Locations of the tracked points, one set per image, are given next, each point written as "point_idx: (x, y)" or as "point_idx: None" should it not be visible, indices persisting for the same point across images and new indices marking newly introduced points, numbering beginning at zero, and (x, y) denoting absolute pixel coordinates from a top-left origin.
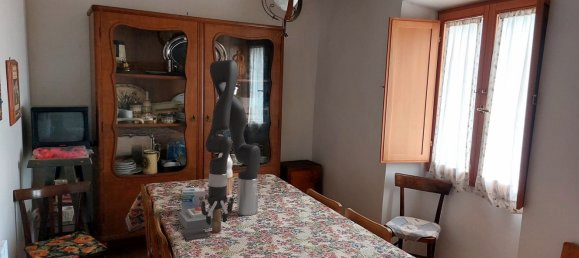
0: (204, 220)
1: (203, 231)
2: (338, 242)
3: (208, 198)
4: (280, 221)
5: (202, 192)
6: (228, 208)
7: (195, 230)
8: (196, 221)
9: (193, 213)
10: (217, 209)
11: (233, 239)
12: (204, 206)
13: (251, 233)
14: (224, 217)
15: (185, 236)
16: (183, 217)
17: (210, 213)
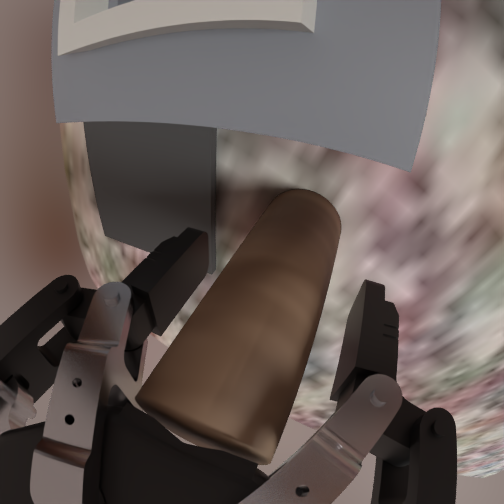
0: (190, 120)
1: (195, 190)
2: (489, 458)
3: (4, 471)
4: None
5: None
6: (407, 454)
7: (149, 141)
8: (115, 119)
9: (74, 5)
10: (191, 442)
11: (319, 362)
12: (34, 391)
13: (445, 370)
14: (338, 365)
15: (97, 199)
16: (54, 10)
17: (136, 362)
